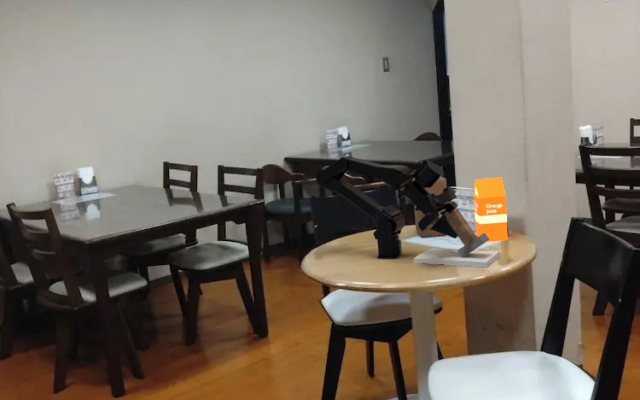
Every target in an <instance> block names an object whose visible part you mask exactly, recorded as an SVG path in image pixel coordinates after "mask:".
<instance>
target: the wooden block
mask: <svg viewBox="0 0 640 400" xmlns="http://www.w3.org/2000/svg"><path fill="white" fill-rule="evenodd" d="M414 180H415V178H414V179H412V181H411V183H412V182H413V181H414ZM447 187H448V186H447V179H446V177H443V176H441V177H440V178H439V180H438V181H437V182H436V183H435V184H434V185H433V186H432V187H431V188H428V187H427V188H425V189H426V190H427V191H428V192H429V193H430V194H432V193H435V194H436V195H439V194H441V193H443V189H445V188H447ZM446 203H447V202H446ZM413 206H414V208H413V209H414V210H413V211H414V220H415V221H414V222H415V223H414V224H415V231H416V233H417V234H418V235H419V236H420V237H421V238H431V237H432V236H433V237H441V236H446V235H445V234H442V233H439V232H436V231H433V230H430V228H431V227H432V225H431V224H432V223H431V224H430V225H429V226H428V227H427V228H428V229H427V230H425V231H422V230H421V229H420V228H419V227H418V222H419V221H420V220H421V219H422V218H423V217H424V216H425V215H424V214H423V213H422V212H421V211H420V210H419V211H416V210H415V208H416V206H415V205H414V204H413Z"/></svg>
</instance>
